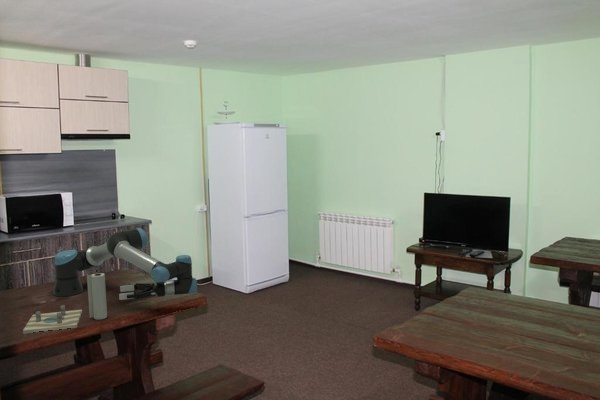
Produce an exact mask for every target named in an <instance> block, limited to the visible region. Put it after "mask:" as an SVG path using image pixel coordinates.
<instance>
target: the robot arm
mask: <svg viewBox="0 0 600 400" xmlns="http://www.w3.org/2000/svg"><path fill="white" fill-rule="evenodd" d="M147 245H148V236H147V234H146V231H145V230H144V229H143V228H141V227H135V228H131V229H126V230H125V229H124V230H121V231H120V230H119V231H115V232H114V233H112V234H111V235H110V236H109V237H108V239H107V241H106V242H105V243H104V244H101V245H98V246H96V245H93V246H92V245H91V246H89V247H87V248H86V249H82V250H76V249H67V250H63V251H60V252H57V253H56V254H55V256H54V268H55V283H54V287H53V296H55V297H71V296H75V295H79V294H82V293H83V291H84V287H83V284H82V282H81V280H80V275H79V273H80V272H83V271H87V270H91V269H96V268H99V267H101V266H102V265H104V262H105V261H107V260H108V259H111V258H113V257H114V258H116V259H119V260H120V259H122V260H124V261H126V262H128V263H129V264H132V265H134V266H136V268H139V269H140V270H142V271H145V272H146V273H148V274H150V275H151V278H152V279H153V282H155V283H140V282H139V283H137V282H136V283H134V284H131V285H130V284H129V285H120V286H119V289H120V290H119V291H120V293H119V295H118V297H119V298H118V299H119V301H123V300H132V299H135V300H136V301H137V300H142V299H146V298H151V297H156V295H157V298H159V297H161V298H162V297H165V296H166V297H169V296H170V297H173V296H178V295H191V294H195V293H196V292H197V291H198V282H197V278H196V277H193V265H192V264H193V263H192V257H191V256H190V255H188V254H181V255H178V256H176V258H175V261H173V262H169V263H164V262H162V261H160V260H159V259H157V258H155V257H153V256H151V255H149V254H147V253H145V252H143V251H141V250H142V249H145V248H146V247H147ZM155 284H156V285H155ZM136 291H137V292H136ZM122 292H123V293H122ZM124 292H125V293H124Z"/></svg>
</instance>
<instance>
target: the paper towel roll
mask: <svg viewBox="0 0 600 400" xmlns="http://www.w3.org/2000/svg"><path fill="white" fill-rule="evenodd" d="M86 281H87V297H88V310H89V311H88V312H89V318H90V319H91V318H93V320H105V319H106V318H108V310H107V309H108V308H107V306H108V305H107V292H106V291H107V287H106V274H105V273H102V272H101V273H100V272H99V273H98V272H97V273H93V274H92V273H91V274H87V275H86Z"/></svg>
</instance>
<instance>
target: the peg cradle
mask: <svg viewBox="0 0 600 400" xmlns="http://www.w3.org/2000/svg"><path fill="white" fill-rule="evenodd" d="M82 313H83V309H74V310H66V305H65V304H61V305H60V311H55V312H54V311H53V312H47V313H41V311H40V310H36V311H35V314H32V315H31V317H30V319H28V322H27V323H26V325H25V327H24V328H23V329H22V334H23V335H25V334H33V332H36V333H40V332H39V331H44V332H49V331H48V330H53V331H58V330H59V329H62V330H67V328H71V329H77V328H78V326H79V323H80V320H81V318H82V317H81V316H82Z"/></svg>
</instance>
